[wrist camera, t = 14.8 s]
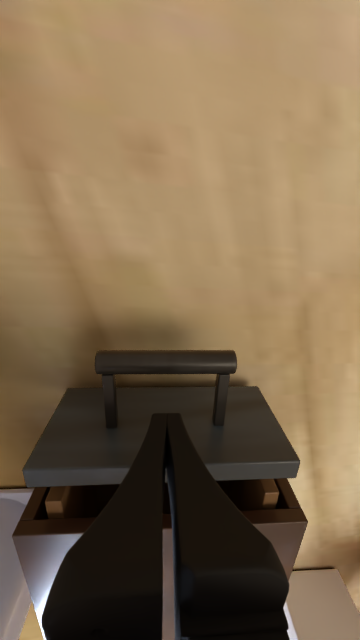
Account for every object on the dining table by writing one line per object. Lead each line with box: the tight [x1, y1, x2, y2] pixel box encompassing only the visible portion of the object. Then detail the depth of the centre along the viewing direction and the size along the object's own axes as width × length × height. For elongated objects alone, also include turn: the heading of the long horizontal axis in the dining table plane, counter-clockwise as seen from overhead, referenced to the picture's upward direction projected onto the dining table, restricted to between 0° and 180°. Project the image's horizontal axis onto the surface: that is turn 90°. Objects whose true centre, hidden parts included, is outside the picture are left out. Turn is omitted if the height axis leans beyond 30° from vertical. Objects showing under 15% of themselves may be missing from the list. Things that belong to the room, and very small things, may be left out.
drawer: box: [22, 350, 300, 519], centre depth 17 cm, size 17×13×6 cm
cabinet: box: [12, 478, 308, 640], centre depth 19 cm, size 13×14×8 cm
